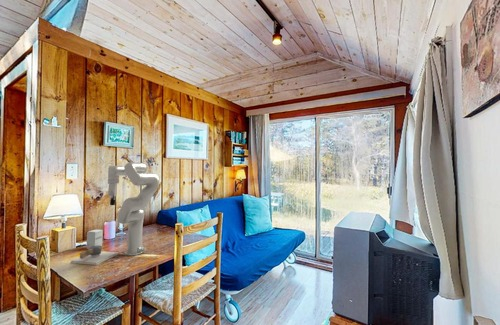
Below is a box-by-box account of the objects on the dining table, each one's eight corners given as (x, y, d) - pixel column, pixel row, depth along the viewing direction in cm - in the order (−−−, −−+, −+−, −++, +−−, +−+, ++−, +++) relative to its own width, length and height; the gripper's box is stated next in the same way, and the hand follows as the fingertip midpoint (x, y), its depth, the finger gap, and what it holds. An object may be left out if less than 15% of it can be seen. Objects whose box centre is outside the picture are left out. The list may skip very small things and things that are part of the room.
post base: (117, 254, 163) (117, 250, 163) (95, 265, 145) (95, 260, 145) (93, 252, 166) (93, 248, 166) (68, 263, 148) (68, 258, 148)
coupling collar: (94, 251, 159) (94, 245, 160) (103, 252, 159) (103, 245, 159) (76, 260, 144) (76, 253, 144) (86, 260, 144) (86, 253, 144)
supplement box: (94, 249, 173) (95, 232, 173) (86, 248, 175) (86, 231, 175) (102, 246, 180) (103, 229, 181) (94, 245, 182) (95, 229, 182)
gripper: (109, 181, 190) (108, 203, 190) (106, 182, 176) (105, 206, 176) (120, 181, 193) (119, 203, 193) (117, 182, 179) (116, 206, 179)
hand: (112, 205), depth 184 cm, fingers closed
